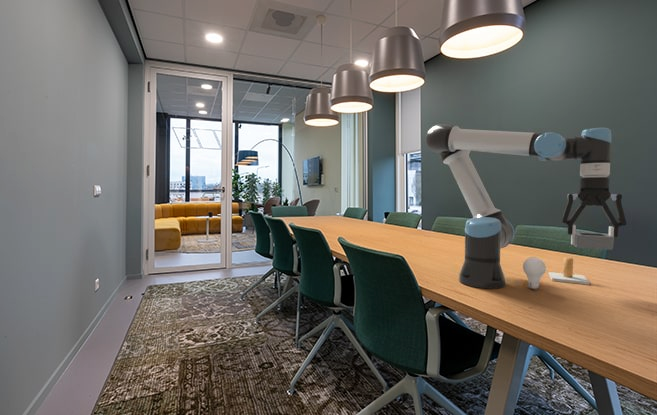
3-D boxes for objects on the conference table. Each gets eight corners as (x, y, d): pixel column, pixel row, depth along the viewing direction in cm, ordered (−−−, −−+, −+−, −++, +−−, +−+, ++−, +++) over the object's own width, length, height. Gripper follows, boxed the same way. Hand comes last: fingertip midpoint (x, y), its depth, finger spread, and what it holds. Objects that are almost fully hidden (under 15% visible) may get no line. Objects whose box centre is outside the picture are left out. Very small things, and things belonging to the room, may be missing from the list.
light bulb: (543, 288, 111) (544, 256, 111) (547, 293, 105) (548, 260, 105) (521, 285, 114) (521, 254, 114) (523, 291, 108) (524, 258, 108)
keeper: (552, 280, 120) (552, 259, 120) (548, 274, 129) (549, 254, 129) (589, 284, 115) (590, 262, 115) (583, 277, 124) (583, 257, 123)
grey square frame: (576, 247, 105) (576, 235, 105) (572, 243, 113) (572, 231, 112) (612, 250, 100) (613, 237, 100) (605, 245, 108) (606, 233, 108)
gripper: (554, 177, 107) (552, 244, 109) (643, 175, 97) (639, 250, 98) (552, 177, 114) (550, 241, 115) (635, 176, 103) (631, 246, 104)
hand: (591, 245), depth 107 cm, fingers closed on grey square frame, 9 cm apart
